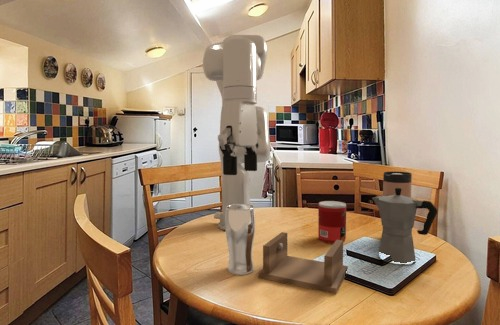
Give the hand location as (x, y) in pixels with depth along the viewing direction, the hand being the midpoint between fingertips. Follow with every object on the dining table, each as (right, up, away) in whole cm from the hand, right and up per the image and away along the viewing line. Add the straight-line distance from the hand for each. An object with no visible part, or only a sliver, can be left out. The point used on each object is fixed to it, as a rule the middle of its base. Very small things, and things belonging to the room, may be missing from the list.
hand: (241, 172), depth 73 cm
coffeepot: (+40, -22, +7) cm, 46 cm away
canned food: (+27, -21, +23) cm, 41 cm away
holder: (+14, -23, -1) cm, 27 cm away
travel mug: (+45, -21, +22) cm, 55 cm away
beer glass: (0, -23, +2) cm, 23 cm away
